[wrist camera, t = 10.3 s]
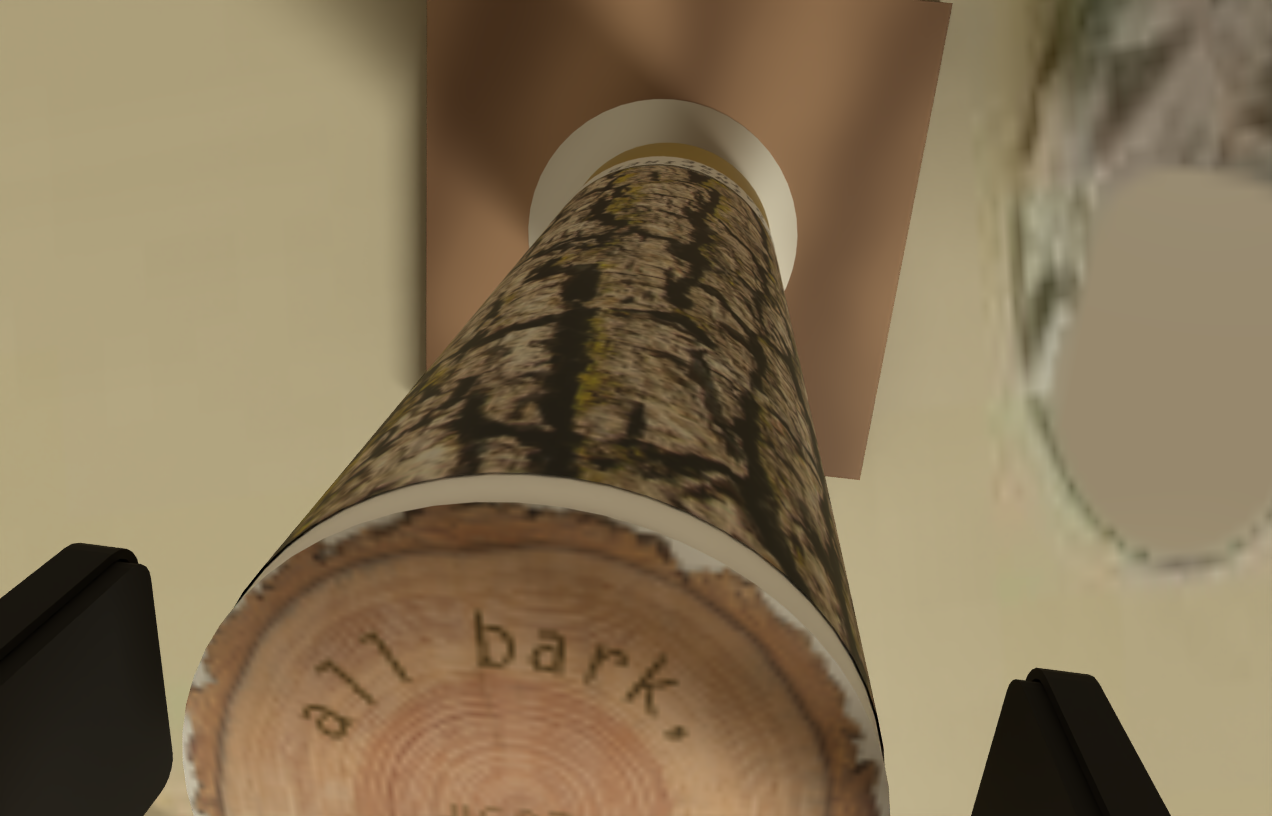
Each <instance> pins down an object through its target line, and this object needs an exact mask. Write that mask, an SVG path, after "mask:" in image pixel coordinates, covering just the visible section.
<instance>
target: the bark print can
mask: <svg viewBox="0 0 1272 816" xmlns="http://www.w3.org/2000/svg"><path fill="white" fill-rule="evenodd" d="M774 249H775V247H774V242H773V239H772V236H771V232H770V228H769V223H768V219H767V216H766V213H765V209H764V207H763V205H762V203H761V200H760V198H759V197H758V195H757V193H756V191H755V190H754V188H753V187H752V186H751V184H750V183H749V181H748V180H747V179H746V178H745V177H744V176H743V175H742V174H741V173H740V172H739V171H738V170H737V169H736V168H735V167H734V166H733V165H731V164H730V163H728V162H727V161H726V160H724V159H723V158H721V157H719V156H717V155H716V154H714V153H712V152H709V151H707V150H705V149H702V148H699V147H695V146H692V145H687V144H682V143H654V144H647V145H643V146H639V147H635V148H633V149H630V150H627V151H625V152H623V153H621V154H619V155H617V156H615V157H614V158H612V159H610V160H609V161H607V162H606V163H605V164H604V165H602V166H601V167H600V168H599V169H597V170H596V171H595V172H594V173H593V174H592V175H591V176H590V178H589V179H588V180H587V181H586V183H585V184H584V185H583V186H582V187H581V188H580V189H579V190H578V191H577V192H576V193H575V194H574V196H573V197H572V198H571V199H570V200H569V202H568V203H567V204H566V205H565V206H564V208H563V209H562V210H561V211H560V212H559V214H558V215H557V216H556V217H555V218H554V220H553V221H552V222H551V223H550V224H549V226H548V227H547V228H546V229H545V230H544V231H543V233H542V234H541V235H540V236H539V237H538V239H537V240H536V241H535V242H534V243H533V245H532V246H531V247H530V248H529V249H528V251H527V252H526V253H525V254H524V255H523V257H522V258H521V259H520V260H519V261H518V263H517V264H516V265H515V266H514V267H513V269H512V270H511V271H510V272H509V273H508V275H507V276H506V277H505V278H504V279H503V281H502V282H501V283H500V284H499V285H498V287H497V288H496V289H495V290H494V291H493V293H492V294H491V295H490V296H489V297H488V299H487V300H486V301H485V302H484V303H483V305H482V306H481V307H480V308H479V309H478V310H477V312H476V313H475V314H474V315H473V316H472V318H471V319H470V320H469V321H468V322H467V324H466V325H465V326H464V327H463V328H462V330H461V331H460V332H459V333H458V334H457V336H456V337H455V338H454V339H453V340H452V342H451V343H450V344H449V345H448V346H447V348H446V349H445V350H444V351H443V352H442V354H441V355H440V356H439V357H438V358H437V360H436V361H435V362H434V363H433V364H432V366H431V367H430V368H429V369H428V370H427V372H426V373H425V374H424V375H423V376H422V378H421V379H420V380H419V381H418V382H417V384H416V385H415V386H414V387H413V388H412V389H411V391H410V392H409V393H408V394H407V395H406V397H405V398H404V399H403V400H402V401H401V403H400V404H399V405H398V406H397V407H396V409H395V410H394V411H393V412H392V413H391V415H390V416H389V417H388V418H387V419H386V421H385V422H384V423H383V424H382V425H381V427H380V428H379V429H378V430H377V431H376V433H375V434H374V435H373V436H372V437H371V439H370V440H369V441H368V442H367V443H366V445H365V446H364V447H363V448H362V449H361V451H360V452H359V453H358V454H357V455H356V457H355V458H354V459H353V460H352V461H351V463H350V464H349V465H348V466H347V467H346V469H345V470H344V471H343V472H342V473H341V474H340V476H339V477H338V478H337V479H336V480H335V482H334V483H333V484H332V485H331V486H330V488H329V489H328V490H327V491H326V492H325V494H324V495H323V496H322V497H321V498H320V500H319V501H318V502H317V503H316V504H315V506H314V507H313V508H312V509H311V510H310V512H309V513H308V514H307V515H306V516H305V518H304V519H303V520H302V521H301V522H300V524H299V525H298V526H297V527H296V528H295V530H294V531H293V532H292V533H291V534H290V536H289V537H288V538H287V539H286V540H285V542H284V543H283V544H282V545H281V546H280V548H279V549H278V550H277V551H276V552H275V553H274V555H273V556H272V557H271V558H270V559H269V561H268V562H267V563H266V564H265V565H264V567H263V568H262V569H261V570H260V572H259V573H258V574H257V575H256V577H255V578H254V579H253V580H252V582H251V583H250V584H249V585H248V587H247V588H246V589H245V590H244V592H243V593H242V595H241V596H240V598H239V600H238V601H237V603H236V605H235V606H234V608H233V609H232V611H231V612H230V613H229V614H228V616H227V617H226V618H225V619H224V621H223V622H222V623H221V625H220V626H219V628H218V629H217V631H216V633H215V634H214V636H213V638H212V639H211V641H210V643H209V644H208V646H207V648H206V649H205V652H204V654H203V656H202V659H201V661H200V663H199V666H198V668H197V670H196V673H195V675H194V678H193V681H192V685H191V689H190V692H189V696H188V700H187V704H186V710H185V718H184V726H183V767H184V774H185V781H186V788H187V793H188V796H189V800H190V804H191V808H192V811H193V815H194V816H890V804H889V786H888V781H887V776H886V771H885V766H884V749H883V743H882V737H881V732H880V727H879V722H878V717H877V712H876V708H875V703H874V699H873V694H872V689H871V685H870V680H869V676H868V671H867V667H866V662H865V657H864V653H863V648H862V644H861V639H860V635H859V630H858V626H857V621H856V616H855V612H854V607H853V603H852V598H851V594H850V589H849V584H848V580H847V575H846V571H845V566H844V562H843V557H842V552H841V548H840V543H839V539H838V534H837V530H836V525H835V521H834V516H833V511H832V507H831V502H830V498H829V493H828V489H827V484H826V479H825V475H824V470H823V466H822V461H821V457H820V452H819V447H818V443H817V438H816V434H815V429H814V425H813V420H812V416H811V411H810V406H809V402H808V397H807V393H806V388H805V384H804V379H803V374H802V370H801V365H800V361H799V356H798V352H797V347H796V342H795V338H794V333H793V329H792V324H791V320H790V315H789V310H788V306H787V301H786V297H785V292H784V288H783V283H782V279H781V274H780V269H779V265H778V260H777V256H776V251H775V250H774Z"/></svg>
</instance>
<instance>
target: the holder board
mask: <svg viewBox="0 0 1272 816" xmlns="http://www.w3.org/2000/svg"><path fill="white" fill-rule="evenodd" d="M952 4H953V3H943V2H932V1H921V0H427V223H426V372H427V370H428V369H429V368H430V367H431V366H432V364H433V363H434V362H435V361H436V360H437V358H438V357H439V356H440V355H441V354H442V352H443V351H444V350H445V349H446V348H447V346H448V345H449V344H450V343H451V342H452V340H453V339H454V338H455V337H456V336H457V334H458V333H459V332H460V331H461V330H462V328H463V327H464V326H465V325H466V324H467V322H468V321H469V320H470V319H471V318H472V316H473V315H474V314H475V313H476V312H477V310H478V309H479V308H480V307H481V306H482V305H483V303H484V302H485V301H486V300H487V299H488V297H489V296H490V295H491V294H492V293H493V291H494V290H495V289H496V288H497V287H498V285H499V284H500V283H501V282H502V281H503V279H504V278H505V277H506V276H507V275H508V273H509V272H510V271H511V270H512V269H513V267H514V266H515V265H516V264H517V263H518V261H519V260H520V259H521V258H522V257H523V255H524V254H525V253H526V252H527V251H528V249H529V248H530V247H531V246H532V245H533V243H534V242H535V241H536V240H537V239H538V237H539V236H540V235H541V234H542V233H543V231H544V230H545V229H546V228H547V227H548V226H549V224H550V223H551V222H552V221H553V220H554V218H555V217H556V216H557V215H558V214H559V212H560V211H561V210H562V209H563V208H564V206H565V205H566V204H567V203H568V202H569V200H570V199H571V198H572V197H573V196H574V194H575V193H576V192H577V191H578V190H579V189H580V188H581V187H582V186H583V185H584V184H585V183H586V181H587V180H588V179H589V178H590V176H591V175H592V174H593V173H594V172H595V171H596V170H597V169H599V168H600V167H601V166H602V165H604V164H605V163H606V162H607V161H609V160H610V159H612V158H614V157H615V156H617V155H619V154H621V153H623V152H625V151H627V150H630V149H633V148H635V147H639V146H643V145H647V144H654V143H682V144H687V145H692V146H695V147H699V148H702V149H705V150H707V151H709V152H712V153H714V154H716V155H717V156H719V157H721V158H723V159H724V160H726V161H727V162H728V163H730V164H731V165H733V166H734V167H735V168H736V169H737V170H738V171H739V172H740V173H741V174H742V175H743V176H744V177H745V178H746V179H747V180H748V181H749V183H750V184H751V186H752V187H753V188H754V190H755V191H756V193H757V195H758V197H759V198H760V200H761V203H762V205H763V207H764V209H765V213H766V216H767V219H768V223H769V228H770V232H771V236H772V239H773V242H774V247H775V249H774V250H775V251H776V256H777V260H778V265H779V269H780V274H781V279H782V283H783V288H784V292H785V297H786V301H787V306H788V310H789V315H790V320H791V324H792V329H793V333H794V338H795V342H796V347H797V352H798V356H799V361H800V365H801V370H802V374H803V379H804V384H805V388H806V393H807V397H808V402H809V406H810V411H811V416H812V420H813V425H814V429H815V434H816V438H817V443H818V447H819V452H820V457H821V461H822V466H823V470H824V475H825V476H829V477H838V478H847V479H856V480H860V475H861V470H862V465H863V460H864V455H865V449H866V444H867V439H868V434H869V429H870V424H871V419H872V414H873V408H874V403H875V398H876V393H877V388H878V383H879V378H880V373H881V367H882V362H883V357H884V352H885V347H886V342H887V337H888V332H889V326H890V321H891V316H892V311H893V306H894V301H895V296H896V291H897V285H898V280H899V275H900V270H901V265H902V260H903V255H904V250H905V244H906V239H907V234H908V229H909V224H910V219H911V214H912V209H913V203H914V198H915V193H916V188H917V183H918V178H919V173H920V168H921V162H922V157H923V152H924V147H925V142H926V137H927V132H928V127H929V121H930V116H931V111H932V106H933V101H934V96H935V91H936V86H937V80H938V75H939V70H940V65H941V60H942V55H943V50H944V45H945V39H946V34H947V29H948V24H949V19H950V14H951V9H952Z"/></svg>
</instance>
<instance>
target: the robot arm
mask: <svg viewBox="0 0 1272 816" xmlns="http://www.w3.org/2000/svg"><path fill="white" fill-rule="evenodd" d="M172 762H173V752H172V744H171V736H170V728H169V720H168V712H167V704H166V696H165V688H164V680H163V672H162V663H161V655H160V647H159V639H158V631H157V623H156V615H155V607H154V599H153V591H152V583H151V576H150V572H149V570H148V569H147V567H146V566H144V565H142V564H138V561H137V558H136V556H135V555H134V553H133V552H132V551H130V550H128V549H123V548H115V547H108V546H100V545H93V544H85V543H74V544H71V545H69V546H68V547H66V548H64V549H63V550H62V551H60V552H59V553H58V554H57V555H55V556H54V557H53V558H51V559H50V560H49V561H48V562H46V563H45V564H44V565H43V566H41V567H40V568H39V569H37V570H36V571H35V572H34V573H32V574H31V575H30V576H28V577H27V578H26V579H25V580H23V581H22V582H21V583H20V584H18V585H17V586H16V587H14V588H13V589H12V590H11V591H9V592H8V593H7V594H5V595H4V596H3V597H2V598H0V816H144V814H145V813H146V812H147V810H148V809H149V808H150V806H151V805H152V804H153V802H154V801H155V800H156V798H157V797H158V796H159V794H160V793H161V791H162V790H163V788H164V787H165V785H166V783H167V780H168V778H169V775H170V772H171V768H172ZM971 816H1171V815H1170V813H1169V812H1168V810H1167V808H1166V806H1165V804H1164V802H1163V800H1162V799H1161V797H1160V795H1159V793H1158V791H1157V789H1156V788H1155V786H1154V784H1153V782H1152V780H1151V778H1150V776H1149V775H1148V773H1147V771H1146V769H1145V767H1144V765H1143V764H1142V762H1141V760H1140V758H1139V756H1138V754H1137V752H1136V751H1135V749H1134V747H1133V745H1132V743H1131V741H1130V740H1129V738H1128V736H1127V734H1126V732H1125V730H1124V728H1123V727H1122V725H1121V723H1120V721H1119V719H1118V717H1117V716H1116V714H1115V712H1114V710H1113V708H1112V706H1111V704H1110V703H1109V701H1108V699H1107V697H1106V695H1105V693H1104V692H1103V690H1102V688H1101V686H1100V684H1099V683H1098V681H1097V680H1096V679H1095V677H1093V676H1091V675H1088V674H1080V673H1073V672H1065V671H1057V670H1050V669H1042V668H1035V669H1032V670H1031V672H1030V673H1029V674H1028V676H1027V678H1026V681H1025V680H1017V679H1015V680H1012V682H1011V683H1010V684H1009V687H1008V689H1007V692H1006V696H1005V699H1004V703H1003V706H1002V710H1001V713H1000V717H999V720H998V724H997V727H996V731H995V734H994V738H993V741H992V745H991V748H990V752H989V755H988V759H987V762H986V766H985V769H984V773H983V776H982V780H981V783H980V787H979V790H978V794H977V797H976V801H975V804H974V808H973V811H972V815H971Z"/></svg>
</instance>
